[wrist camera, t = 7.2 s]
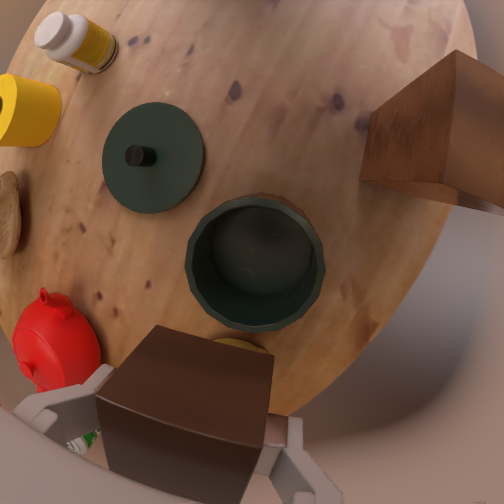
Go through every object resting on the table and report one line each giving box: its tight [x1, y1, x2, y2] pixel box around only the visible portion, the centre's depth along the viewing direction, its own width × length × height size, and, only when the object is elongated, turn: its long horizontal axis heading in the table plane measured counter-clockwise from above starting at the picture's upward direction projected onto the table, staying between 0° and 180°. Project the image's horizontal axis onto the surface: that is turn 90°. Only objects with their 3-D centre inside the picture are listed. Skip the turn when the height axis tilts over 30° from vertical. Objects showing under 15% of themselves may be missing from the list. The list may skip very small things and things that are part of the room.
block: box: [95, 325, 274, 504], centre depth 9 cm, size 4×4×4 cm
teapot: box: [12, 287, 101, 393], centre depth 36 cm, size 25×16×12 cm, turn 153°
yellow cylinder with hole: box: [0, 74, 61, 147], centre depth 30 cm, size 10×10×9 cm
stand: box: [359, 49, 504, 216], centre depth 21 cm, size 8×8×20 cm
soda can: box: [67, 428, 101, 454], centre depth 39 cm, size 8×8×12 cm
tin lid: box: [102, 102, 204, 214], centre depth 32 cm, size 13×13×5 cm
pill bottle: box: [34, 12, 118, 74], centre depth 26 cm, size 6×6×12 cm
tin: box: [185, 193, 325, 333], centre depth 31 cm, size 12×12×8 cm
